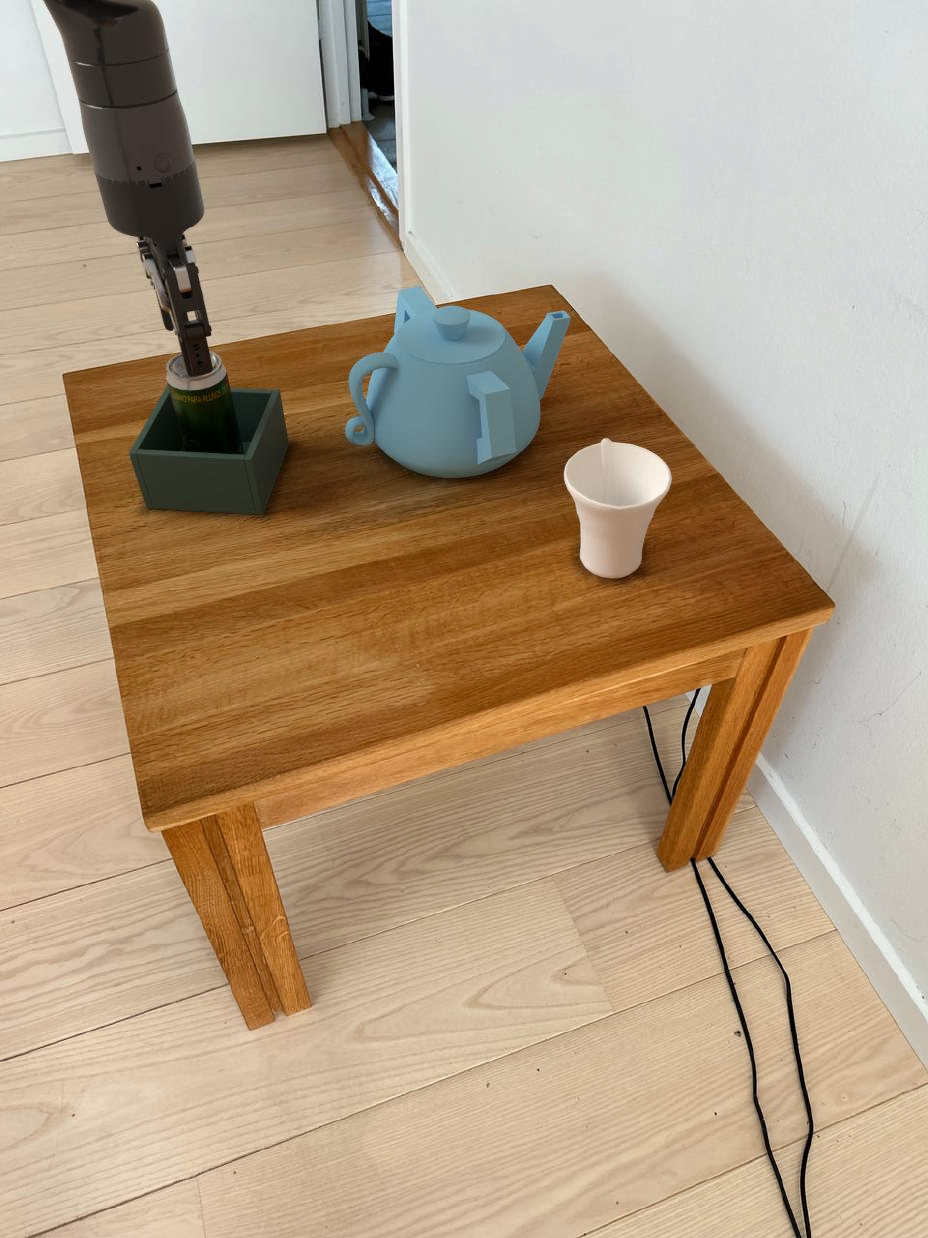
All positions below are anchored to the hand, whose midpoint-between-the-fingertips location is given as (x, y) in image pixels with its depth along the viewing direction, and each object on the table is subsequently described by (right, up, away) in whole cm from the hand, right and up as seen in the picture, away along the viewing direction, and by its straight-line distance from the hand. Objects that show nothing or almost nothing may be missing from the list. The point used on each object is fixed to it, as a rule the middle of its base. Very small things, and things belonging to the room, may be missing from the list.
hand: (188, 349), depth 82 cm
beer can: (0, -9, +10) cm, 14 cm away
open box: (0, -10, +10) cm, 14 cm away
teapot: (+24, -5, +15) cm, 29 cm away
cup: (+37, -18, +2) cm, 42 cm away
